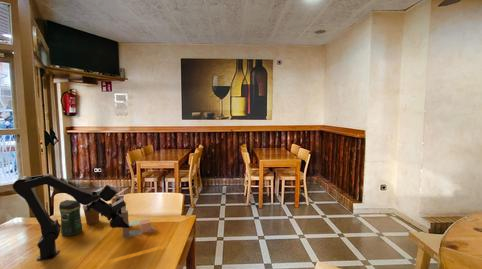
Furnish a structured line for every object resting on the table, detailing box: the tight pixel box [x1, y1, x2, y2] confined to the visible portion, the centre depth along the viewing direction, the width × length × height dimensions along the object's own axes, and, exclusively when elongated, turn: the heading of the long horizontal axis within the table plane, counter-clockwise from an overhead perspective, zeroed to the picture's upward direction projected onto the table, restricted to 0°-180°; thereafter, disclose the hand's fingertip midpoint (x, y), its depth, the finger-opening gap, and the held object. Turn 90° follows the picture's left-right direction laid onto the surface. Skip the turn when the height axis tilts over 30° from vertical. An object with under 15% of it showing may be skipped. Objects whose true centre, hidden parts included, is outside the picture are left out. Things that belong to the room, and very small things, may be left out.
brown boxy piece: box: [121, 209, 156, 239], centre depth 133 cm, size 16×7×14 cm, turn 120°
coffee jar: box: [58, 199, 83, 237], centre depth 134 cm, size 10×8×19 cm
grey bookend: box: [121, 205, 152, 227], centre depth 144 cm, size 16×7×14 cm, turn 120°
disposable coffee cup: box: [82, 204, 100, 225], centre depth 148 cm, size 10×10×12 cm
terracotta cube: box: [139, 218, 152, 234], centre depth 135 cm, size 5×5×5 cm
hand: (128, 223), depth 130 cm, fingers open, 9 cm apart
